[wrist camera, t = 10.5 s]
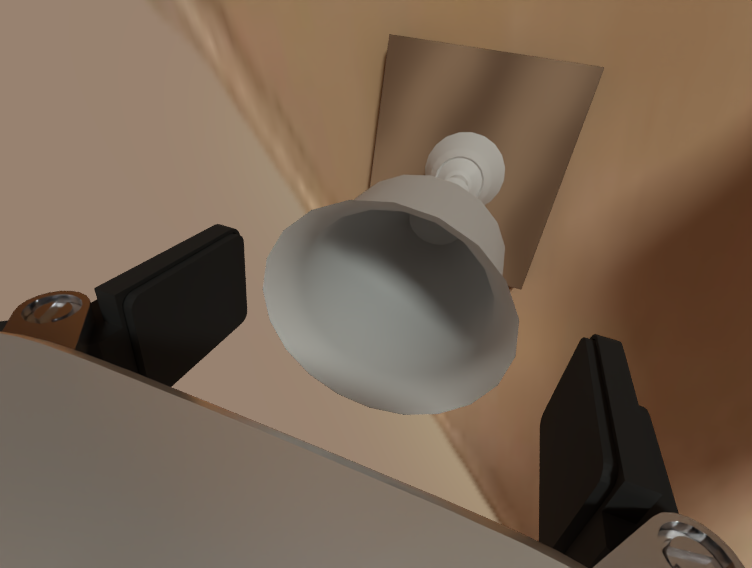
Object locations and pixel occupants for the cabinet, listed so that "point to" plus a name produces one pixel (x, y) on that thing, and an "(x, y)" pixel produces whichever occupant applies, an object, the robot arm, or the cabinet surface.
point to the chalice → (402, 286)
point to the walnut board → (486, 125)
